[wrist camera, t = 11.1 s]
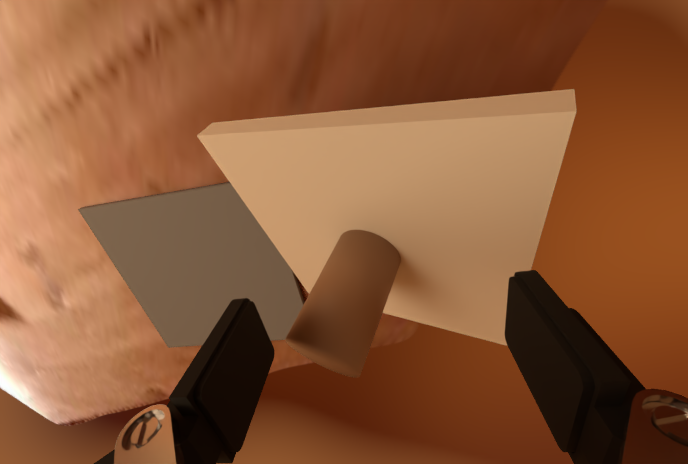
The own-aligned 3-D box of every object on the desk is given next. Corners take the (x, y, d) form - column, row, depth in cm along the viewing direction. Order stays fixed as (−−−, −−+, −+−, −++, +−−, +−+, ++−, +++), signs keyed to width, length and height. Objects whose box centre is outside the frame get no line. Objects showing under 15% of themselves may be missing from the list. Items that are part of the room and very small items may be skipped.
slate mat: (83, 207, 30) (78, 209, 29) (263, 176, 26) (261, 178, 26) (171, 343, 39) (168, 347, 38) (314, 333, 35) (313, 337, 35)
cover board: (212, 122, 15) (90, 222, 11) (574, 88, 8) (598, 334, 4) (314, 281, 25) (270, 362, 21) (510, 328, 18) (499, 461, 14)
